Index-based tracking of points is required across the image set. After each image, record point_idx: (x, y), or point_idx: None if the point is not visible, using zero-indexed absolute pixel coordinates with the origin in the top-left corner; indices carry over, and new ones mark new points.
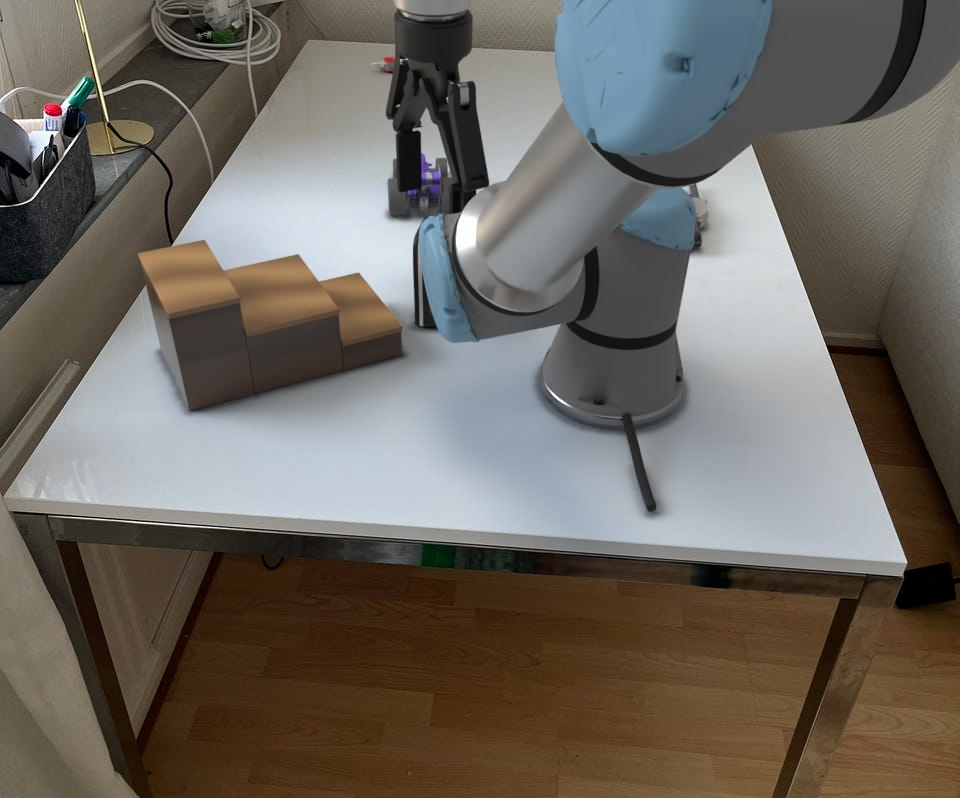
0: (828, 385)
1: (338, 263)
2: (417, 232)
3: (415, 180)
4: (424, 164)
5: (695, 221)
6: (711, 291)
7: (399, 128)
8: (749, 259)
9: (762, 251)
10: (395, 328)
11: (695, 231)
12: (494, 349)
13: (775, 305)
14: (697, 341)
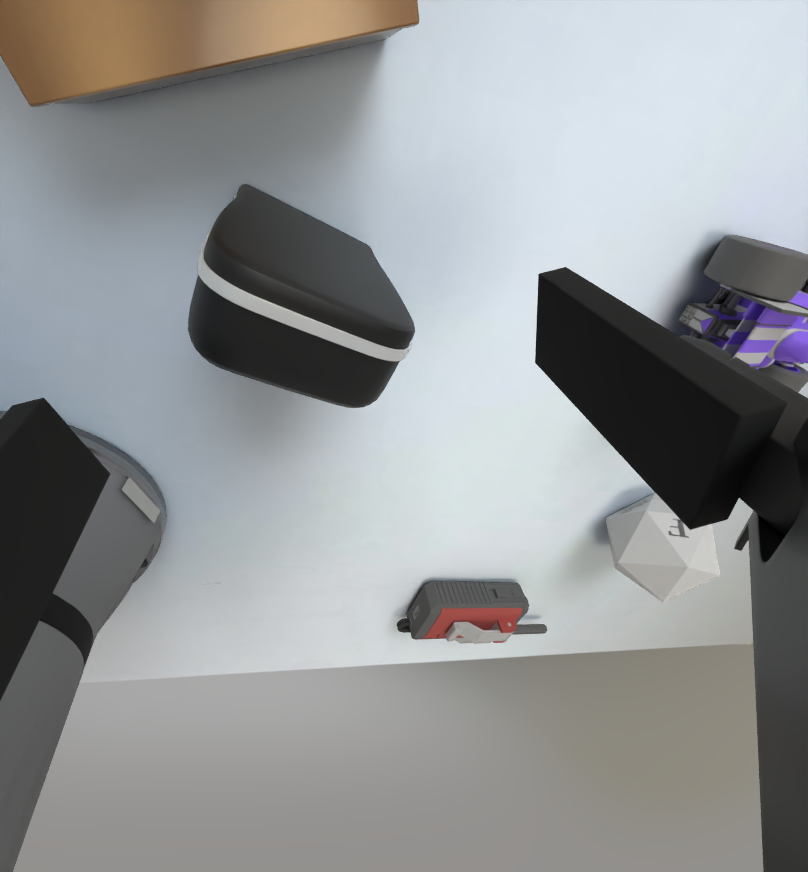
0: (93, 681)
1: (616, 16)
2: (265, 282)
3: (554, 357)
4: (794, 356)
5: (436, 638)
6: (312, 618)
7: (805, 454)
8: (375, 646)
9: (388, 654)
10: (11, 72)
11: (412, 637)
12: (145, 349)
13: (272, 657)
14: (189, 600)
